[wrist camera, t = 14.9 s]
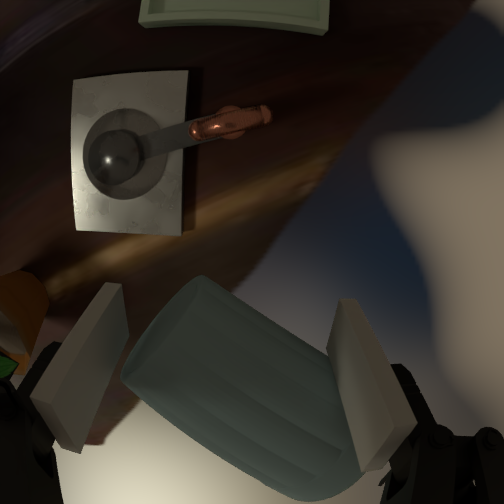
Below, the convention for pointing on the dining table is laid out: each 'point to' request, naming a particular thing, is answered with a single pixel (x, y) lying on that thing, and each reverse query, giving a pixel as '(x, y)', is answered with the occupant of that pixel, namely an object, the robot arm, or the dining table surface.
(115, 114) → the crank plate
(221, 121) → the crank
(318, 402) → the cup
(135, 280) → the dining table surface
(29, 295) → the potted plant
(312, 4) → the tray
